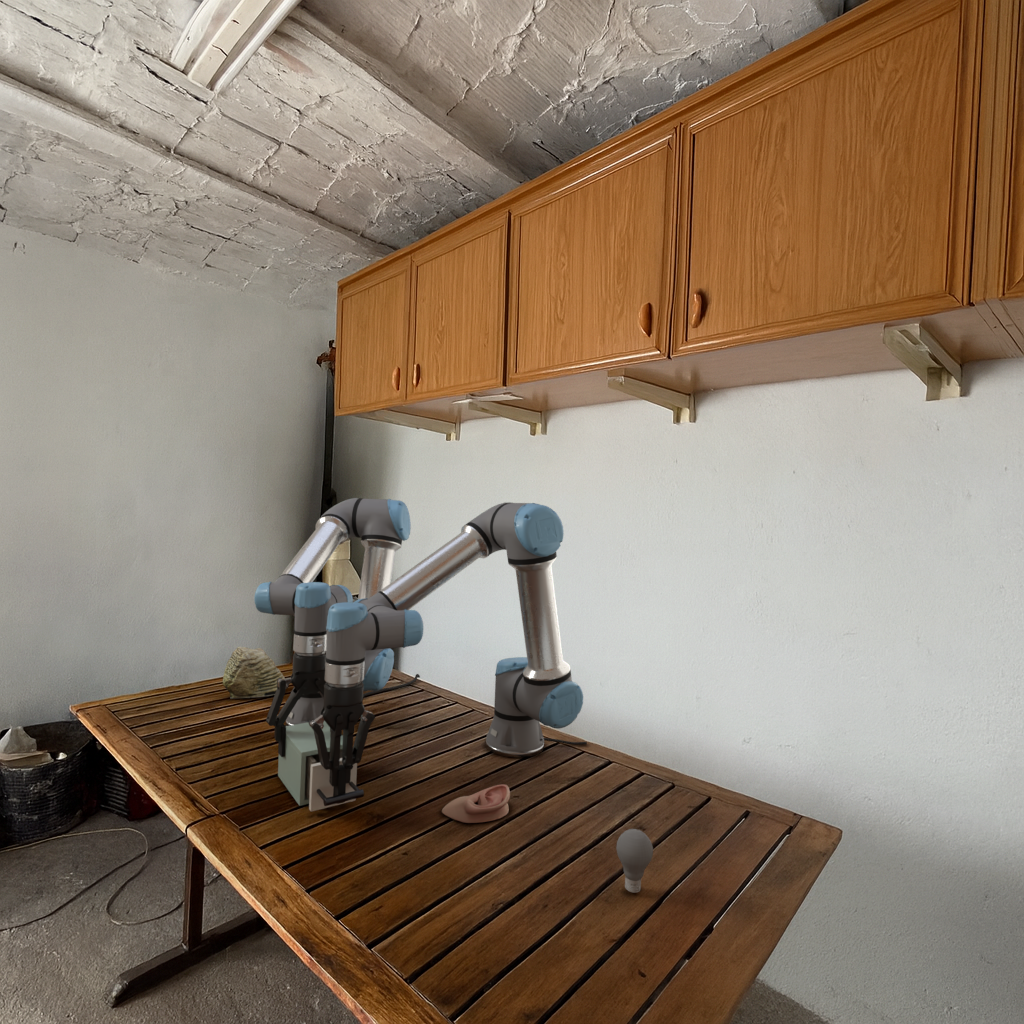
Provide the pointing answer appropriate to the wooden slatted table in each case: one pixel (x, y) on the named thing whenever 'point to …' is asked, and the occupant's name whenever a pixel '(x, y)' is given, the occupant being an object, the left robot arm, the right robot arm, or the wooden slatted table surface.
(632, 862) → the light bulb
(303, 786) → the cabinet
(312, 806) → the drawer
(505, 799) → the anatomical model
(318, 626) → the left robot arm
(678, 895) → the wooden slatted table surface
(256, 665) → the fossil
